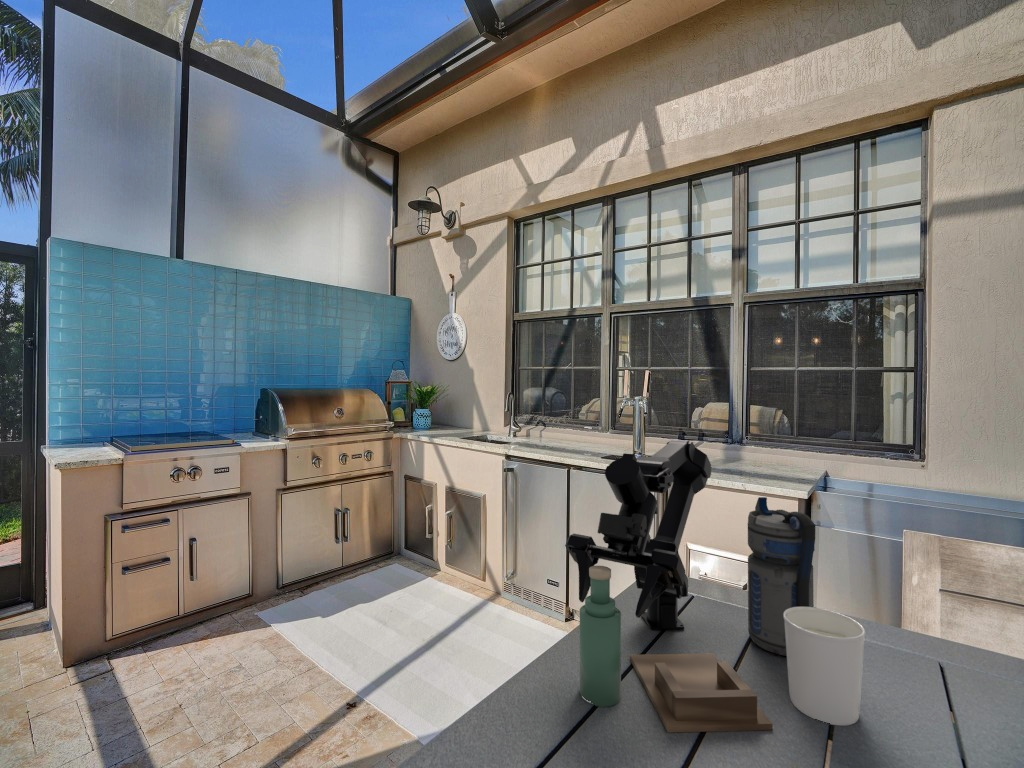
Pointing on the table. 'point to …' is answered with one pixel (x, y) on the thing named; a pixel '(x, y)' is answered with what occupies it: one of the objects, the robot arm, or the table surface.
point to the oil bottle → (600, 642)
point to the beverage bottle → (777, 571)
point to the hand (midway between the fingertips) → (608, 608)
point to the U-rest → (698, 693)
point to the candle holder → (824, 663)
